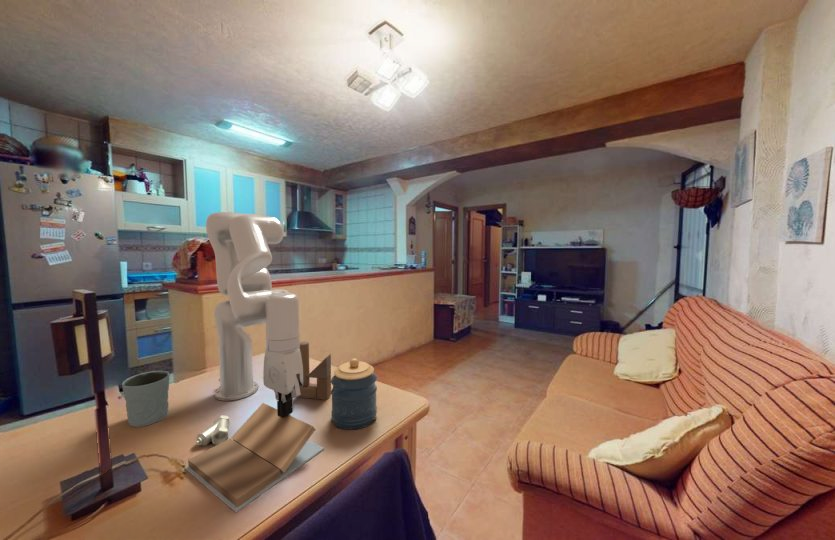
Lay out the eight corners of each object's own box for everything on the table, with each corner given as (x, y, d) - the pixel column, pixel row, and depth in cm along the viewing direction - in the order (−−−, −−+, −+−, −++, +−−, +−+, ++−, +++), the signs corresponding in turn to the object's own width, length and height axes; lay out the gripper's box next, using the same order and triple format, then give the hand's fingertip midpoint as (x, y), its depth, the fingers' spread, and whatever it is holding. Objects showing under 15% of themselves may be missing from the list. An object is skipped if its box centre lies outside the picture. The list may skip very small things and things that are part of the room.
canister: (357, 436, 80) (356, 371, 79) (321, 422, 87) (320, 361, 85) (385, 413, 92) (385, 355, 90) (352, 401, 98) (352, 348, 97)
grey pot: (162, 405, 94) (159, 368, 93) (178, 414, 89) (176, 375, 88) (118, 422, 85) (115, 380, 84) (134, 433, 81) (131, 389, 80)
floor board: (188, 466, 68) (188, 459, 68) (230, 444, 76) (230, 438, 76) (237, 507, 58) (237, 499, 58) (280, 476, 65) (280, 469, 65)
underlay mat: (184, 468, 68) (184, 467, 68) (272, 422, 86) (272, 421, 86) (236, 512, 57) (236, 510, 57) (323, 449, 75) (323, 447, 75)
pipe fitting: (196, 453, 74) (228, 442, 77) (194, 438, 74) (226, 428, 77) (200, 435, 81) (229, 426, 84) (198, 421, 80) (228, 413, 84)
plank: (234, 441, 77) (230, 437, 76) (265, 406, 83) (263, 402, 83) (284, 472, 66) (280, 469, 65) (315, 429, 73) (312, 426, 72)
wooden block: (327, 400, 99) (326, 345, 97) (295, 398, 100) (294, 344, 99) (331, 394, 102) (331, 342, 101) (301, 392, 104) (300, 340, 102)
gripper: (251, 342, 76) (253, 413, 78) (289, 353, 69) (291, 431, 70) (278, 335, 83) (280, 400, 84) (316, 344, 75) (317, 416, 76)
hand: (285, 414), depth 77 cm, fingers closed
